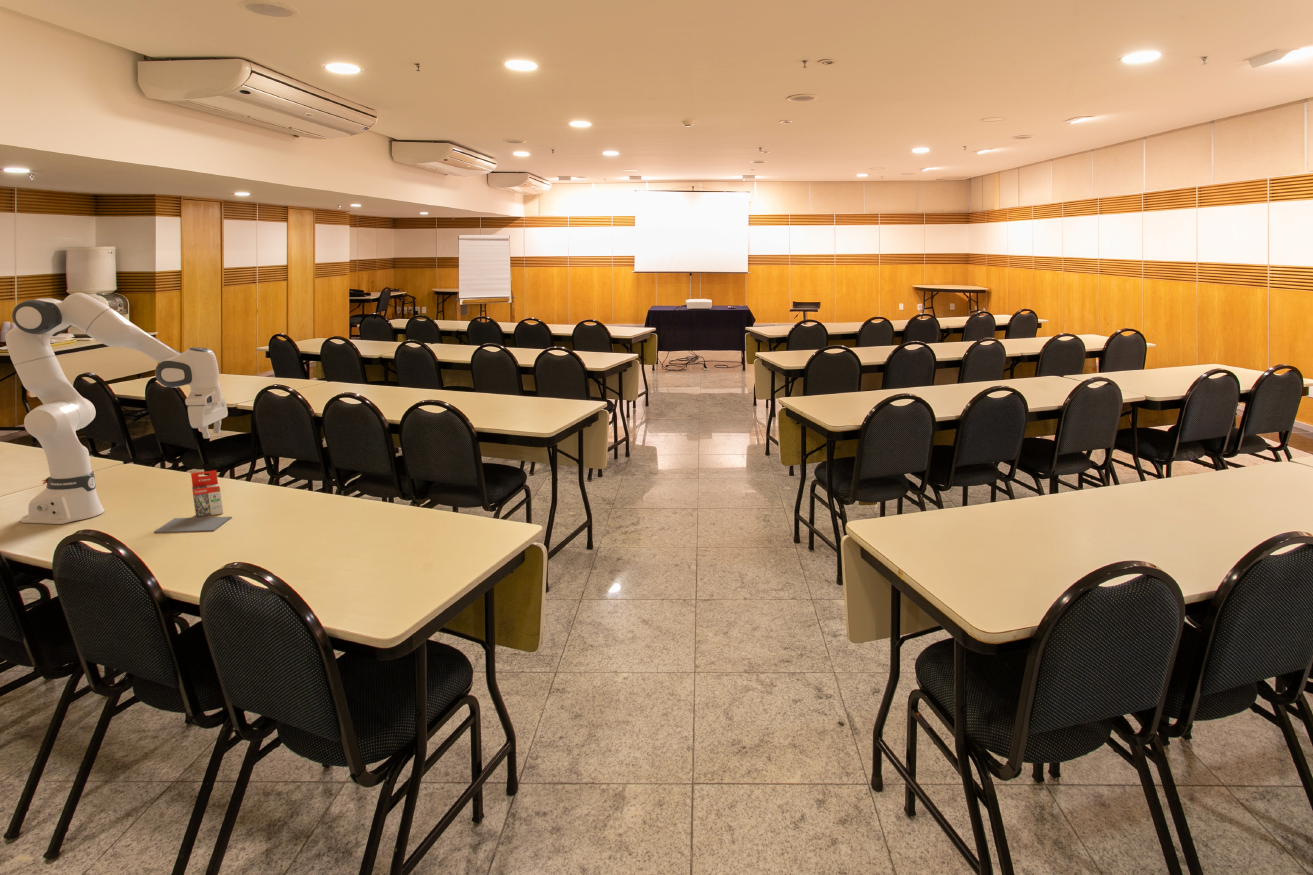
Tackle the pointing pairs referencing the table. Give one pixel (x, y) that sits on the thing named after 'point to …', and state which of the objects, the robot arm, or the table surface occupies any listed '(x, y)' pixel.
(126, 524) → the table surface
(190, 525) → the mat
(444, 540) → the table surface
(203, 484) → the ink box
